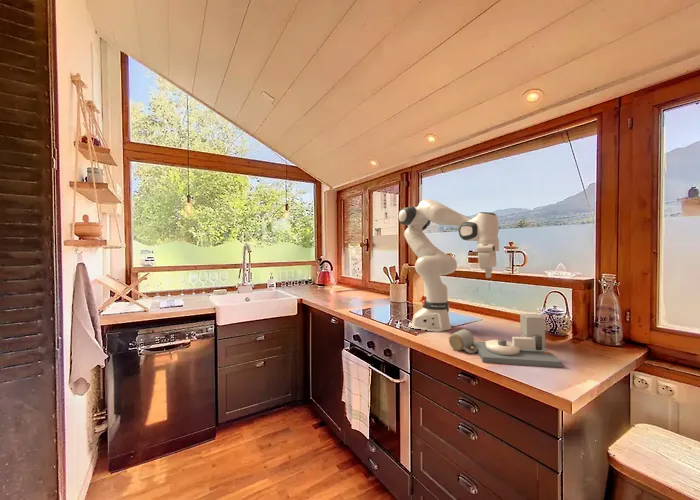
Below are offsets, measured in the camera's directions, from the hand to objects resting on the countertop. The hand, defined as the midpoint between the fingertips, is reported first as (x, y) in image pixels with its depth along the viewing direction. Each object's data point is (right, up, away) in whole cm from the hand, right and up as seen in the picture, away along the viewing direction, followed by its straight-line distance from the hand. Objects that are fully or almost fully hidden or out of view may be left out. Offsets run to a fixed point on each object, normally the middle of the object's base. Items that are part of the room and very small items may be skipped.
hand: (488, 277), depth 131 cm
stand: (+1, -29, -18) cm, 34 cm away
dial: (+1, -27, -17) cm, 32 cm away
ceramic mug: (-15, -30, -9) cm, 35 cm away
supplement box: (+17, -29, -5) cm, 34 cm away
